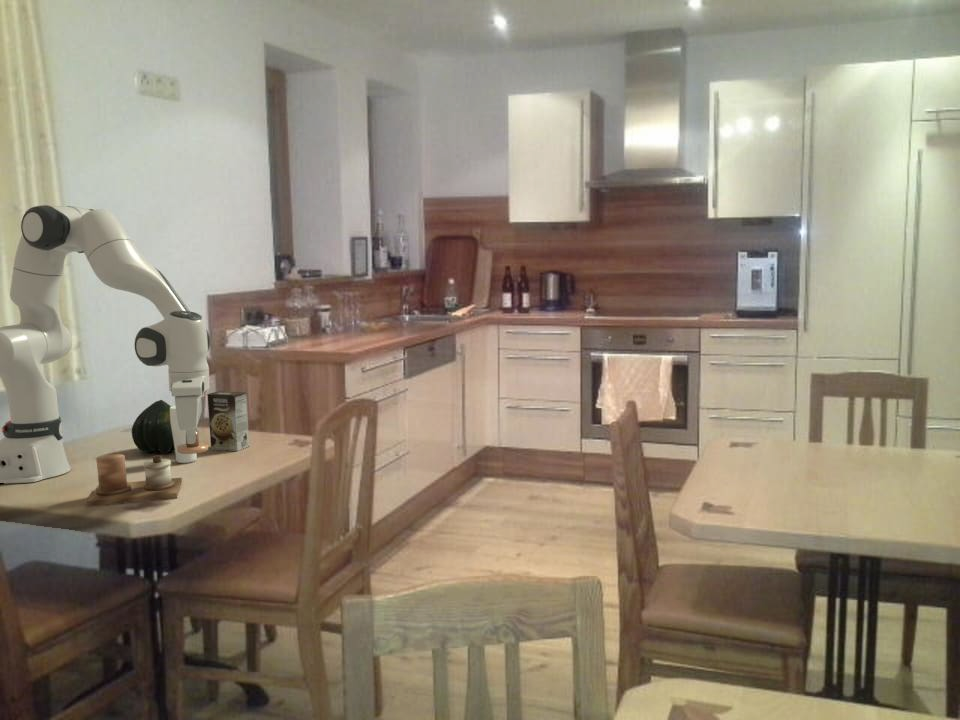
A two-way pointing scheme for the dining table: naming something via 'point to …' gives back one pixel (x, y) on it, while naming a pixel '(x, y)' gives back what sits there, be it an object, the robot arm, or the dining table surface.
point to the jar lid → (192, 446)
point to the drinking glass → (179, 438)
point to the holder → (120, 491)
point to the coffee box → (228, 420)
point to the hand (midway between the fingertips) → (192, 441)
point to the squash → (154, 429)
